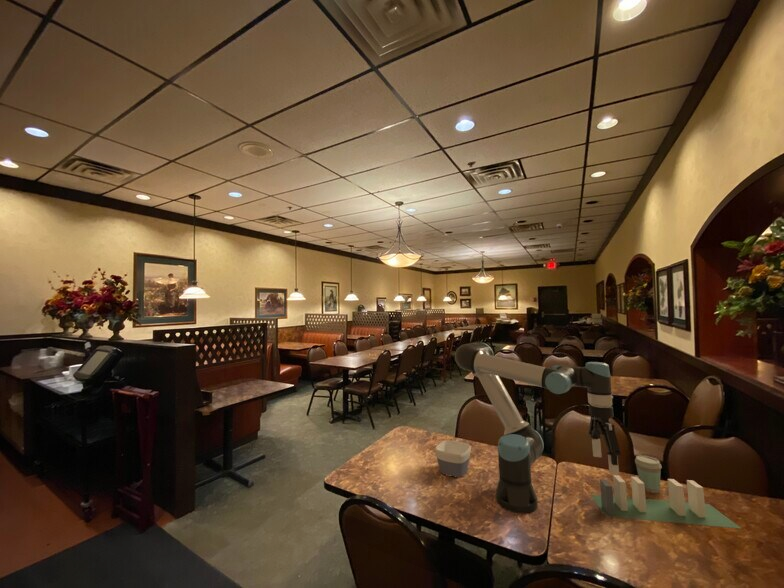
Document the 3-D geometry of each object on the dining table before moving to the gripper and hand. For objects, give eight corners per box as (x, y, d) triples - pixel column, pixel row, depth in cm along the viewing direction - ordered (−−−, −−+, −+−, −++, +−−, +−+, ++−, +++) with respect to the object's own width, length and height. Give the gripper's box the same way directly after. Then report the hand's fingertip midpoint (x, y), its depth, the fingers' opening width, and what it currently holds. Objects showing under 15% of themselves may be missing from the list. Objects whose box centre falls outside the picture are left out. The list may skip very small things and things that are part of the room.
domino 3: (679, 515, 112) (676, 485, 112) (670, 507, 117) (667, 478, 117) (685, 516, 111) (683, 486, 112) (676, 507, 116) (673, 479, 117)
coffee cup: (669, 496, 124) (666, 464, 125) (644, 495, 125) (641, 463, 126) (655, 485, 132) (653, 455, 133) (632, 483, 134) (630, 454, 135)
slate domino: (608, 515, 113) (606, 486, 113) (601, 507, 118) (599, 479, 118) (614, 516, 112) (612, 486, 113) (607, 507, 117) (605, 479, 118)
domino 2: (640, 512, 114) (638, 483, 115) (632, 504, 119) (630, 476, 120) (646, 512, 114) (644, 483, 115) (638, 504, 119) (636, 476, 119)
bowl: (475, 468, 151) (474, 444, 152) (464, 483, 138) (463, 456, 139) (445, 461, 159) (444, 438, 160) (431, 474, 146) (431, 449, 147)
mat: (605, 517, 112) (605, 516, 112) (589, 495, 126) (589, 494, 126) (741, 529, 104) (741, 528, 104) (709, 505, 118) (708, 503, 118)
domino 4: (699, 517, 111) (696, 487, 111) (689, 508, 115) (686, 480, 116) (706, 517, 110) (703, 487, 111) (695, 509, 115) (692, 480, 116)
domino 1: (621, 510, 115) (619, 481, 116) (614, 502, 120) (612, 475, 121) (627, 511, 115) (625, 482, 116) (620, 503, 120) (618, 475, 121)
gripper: (629, 415, 105) (635, 482, 103) (597, 396, 129) (601, 451, 127) (604, 414, 106) (609, 481, 105) (577, 396, 131) (581, 450, 129)
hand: (605, 464), depth 116 cm, fingers open, 13 cm apart
